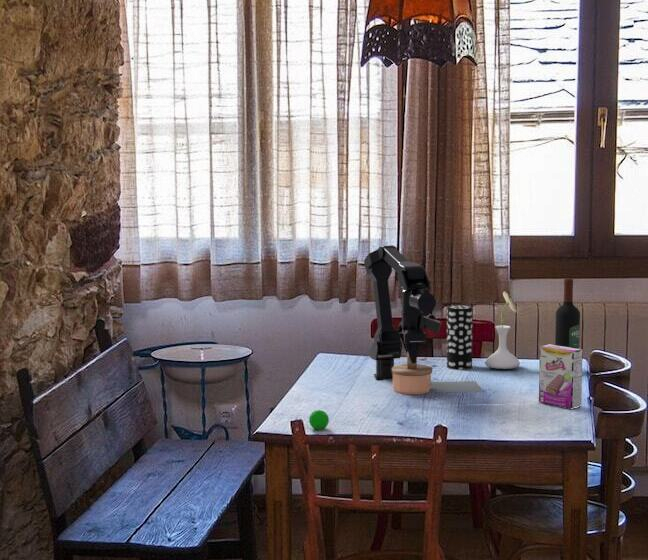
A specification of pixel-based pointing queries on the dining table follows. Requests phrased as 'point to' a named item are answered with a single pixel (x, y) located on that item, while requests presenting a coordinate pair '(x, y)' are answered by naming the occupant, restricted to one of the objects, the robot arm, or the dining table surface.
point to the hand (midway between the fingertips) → (411, 360)
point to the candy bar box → (560, 376)
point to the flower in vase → (503, 344)
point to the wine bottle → (567, 320)
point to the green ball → (318, 419)
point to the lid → (411, 369)
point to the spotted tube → (459, 337)
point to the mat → (457, 386)
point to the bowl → (411, 384)
